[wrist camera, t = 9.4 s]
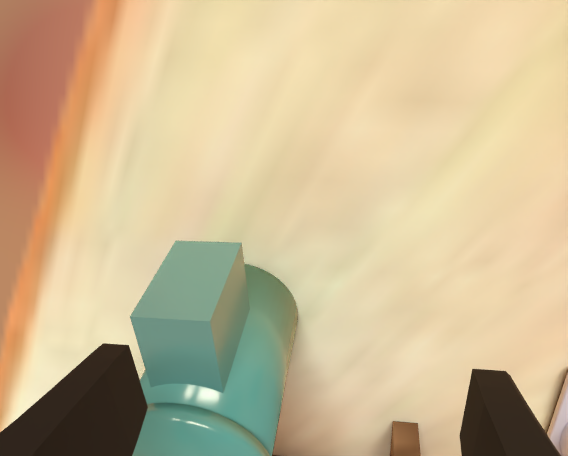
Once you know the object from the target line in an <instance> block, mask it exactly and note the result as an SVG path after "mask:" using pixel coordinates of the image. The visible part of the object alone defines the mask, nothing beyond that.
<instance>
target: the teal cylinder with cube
mask: <svg viewBox="0 0 568 456" xmlns="http://www.w3.org/2000/svg"><path fill="white" fill-rule="evenodd" d="M130 318H131V322H132V325H133V328H134V332H135V335H136V339H137V342H138V345H139V349H140V352H141V355H142V359H143V362H144V366H145V371H144V373H143V375H142V377H141V379H140V383H141V386H142V390H143V393H144V396H145V399H146V402H147V406H148V409H147V412H146V415H145V419H144V422H143V425H142V429H141V432H140V435H139V438H138V441H137V444H136V447H135V450H134V452H133V455H132V456H272V453H273V448H274V442H275V437H276V432H277V426H278V421H279V416H280V410H281V405H282V400H283V394H284V389H285V384H286V378H287V373H288V368H289V362H290V357H291V352H292V346H293V341H294V336H295V330H296V325H297V320H298V311H297V306H296V302H295V300H294V298H293V296H292V294H291V293H290V291H289V290H288V288H287V287H286V286H285V285H284V284H283V283H282V282H281V281H280V280H279V279H277V278H276V277H275V276H273V275H272V274H270V273H268V272H266V271H264V270H262V269H260V268H257V267H254V266H251V265H247V264H244V258H243V251H242V243H229V242H198V241H175V243H174V245H173V246H172V248H171V250H170V251H169V253H168V255H167V256H166V258H165V260H164V261H163V263H162V265H161V266H160V268H159V270H158V271H157V273H156V275H155V276H154V278H153V280H152V281H151V283H150V284H149V286H148V288H147V289H146V291H145V293H144V294H143V296H142V298H141V299H140V301H139V303H138V304H137V306H136V308H135V309H134V311H133V313H132V314H131V316H130Z"/></svg>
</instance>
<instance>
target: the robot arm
mask: <svg viewBox="0 0 568 456" xmlns="http://www.w3.org/2000/svg"><path fill="white" fill-rule="evenodd" d="M147 409H148V406H147V402H146V399H145V396H144V393H143V390H142V386H141V383H140V380H139V377H138V373H137V370H136V367H135V364H134V361H133V357H132V354H131V351H130V348H129V345H117V344H102V345H101V346H100V347H98V348H97V349H96V350H95V351H94V352H93V353H91V354H90V355H89V356H88V357H87V358H86V359H85V360H83V361H82V362H81V363H80V364H79V365H78V366H77V367H76V368H75V369H73V370H72V371H71V372H70V373H69V374H68V375H67V376H66V377H64V378H63V379H62V380H61V381H60V382H59V383H58V384H57V385H55V386H54V387H53V388H52V389H51V390H50V391H49V392H47V393H46V394H45V395H44V396H43V397H42V398H41V399H39V400H38V401H37V402H36V403H35V404H34V405H33V406H31V407H30V408H29V409H28V410H27V411H26V412H24V413H23V414H22V415H21V416H20V417H19V418H18V419H16V420H15V421H14V422H13V423H12V424H10V425H9V426H8V427H7V428H5V429H4V430H3V431H2V432H0V456H132V455H133V452H134V450H135V447H136V444H137V441H138V438H139V435H140V432H141V429H142V425H143V422H144V419H145V415H146V412H147ZM460 442H461V452H462V456H568V373H567V376H566V379H565V382H564V385H563V388H562V391H561V394H560V397H559V400H558V403H557V405H556V408H555V411H554V414H553V417H552V420H551V423H550V426H549V429H548V432H547V434H546V432H545V431H544V429H543V428H542V426H541V425H540V423H539V422H538V420H537V419H536V417H535V416H534V414H533V412H532V411H531V409H530V408H529V406H528V404H527V403H526V401H525V400H524V398H523V396H522V395H521V393H520V391H519V390H518V388H517V386H516V385H515V383H514V381H513V380H512V378H511V376H510V375H509V374H508V373H507V372H506V371H495V370H481V369H472V374H471V380H470V385H469V390H468V395H467V400H466V406H465V411H464V416H463V421H462V427H461V432H460Z"/></svg>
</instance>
